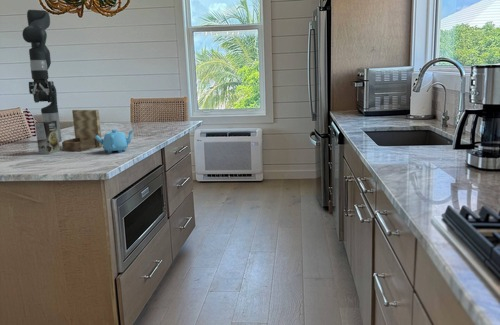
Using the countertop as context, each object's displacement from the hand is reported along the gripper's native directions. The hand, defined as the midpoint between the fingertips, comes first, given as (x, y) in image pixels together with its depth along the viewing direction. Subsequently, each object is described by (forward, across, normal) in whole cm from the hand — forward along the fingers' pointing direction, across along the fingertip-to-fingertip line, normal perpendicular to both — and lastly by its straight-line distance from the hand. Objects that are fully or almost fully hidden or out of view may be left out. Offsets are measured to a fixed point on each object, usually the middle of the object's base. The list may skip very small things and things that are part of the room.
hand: (43, 102), depth 220 cm
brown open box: (+26, -9, -12) cm, 30 cm away
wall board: (+26, -9, -19) cm, 33 cm away
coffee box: (+26, 0, 0) cm, 26 cm away
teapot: (+26, -34, -10) cm, 44 cm away
